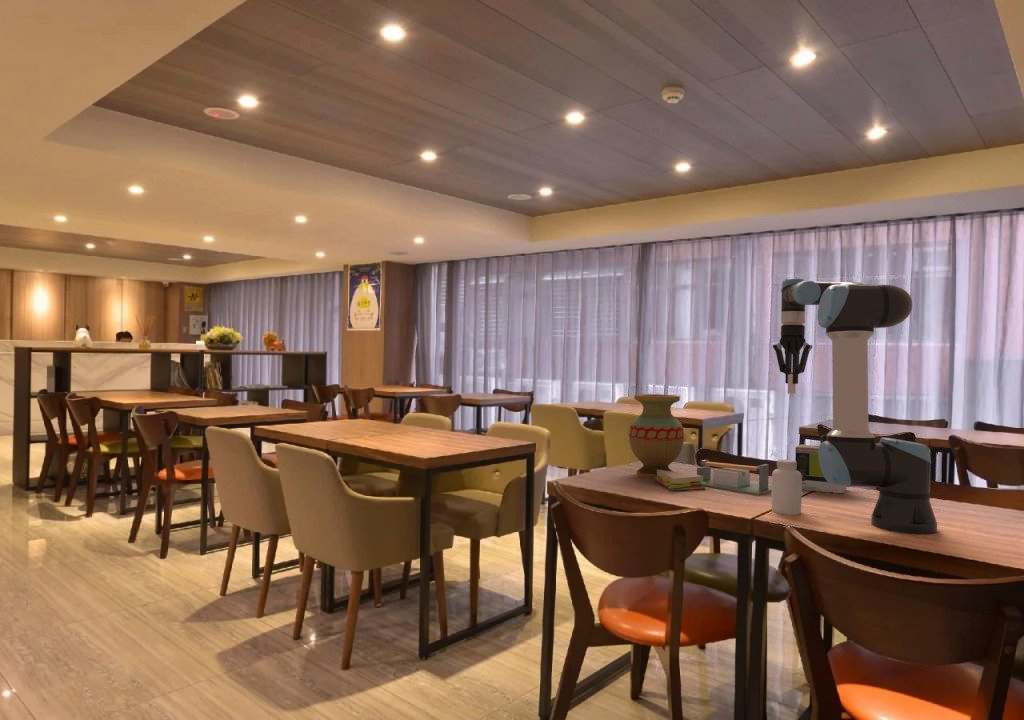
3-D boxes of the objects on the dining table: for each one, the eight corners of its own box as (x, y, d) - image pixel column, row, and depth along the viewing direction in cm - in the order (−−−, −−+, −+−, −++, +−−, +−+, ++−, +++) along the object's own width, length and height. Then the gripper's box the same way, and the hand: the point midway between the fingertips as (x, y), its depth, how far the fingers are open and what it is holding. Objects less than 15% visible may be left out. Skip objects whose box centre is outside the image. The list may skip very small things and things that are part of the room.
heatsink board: (681, 484, 238) (681, 457, 238) (705, 479, 249) (705, 453, 249) (757, 497, 218) (758, 468, 218) (780, 490, 229) (780, 463, 229)
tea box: (846, 490, 233) (847, 446, 232) (843, 495, 224) (844, 449, 224) (799, 485, 241) (800, 443, 241) (794, 489, 232) (795, 446, 232)
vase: (621, 472, 260) (623, 393, 260) (672, 472, 263) (673, 394, 262) (637, 482, 241) (638, 396, 241) (691, 481, 243) (693, 397, 243)
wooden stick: (698, 466, 240) (698, 460, 240) (703, 465, 243) (703, 459, 243) (755, 472, 225) (755, 466, 225) (760, 471, 228) (760, 465, 228)
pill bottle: (766, 512, 196) (767, 460, 196) (777, 508, 202) (778, 457, 202) (794, 517, 190) (796, 463, 190) (805, 513, 196) (806, 460, 196)
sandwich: (683, 482, 244) (683, 468, 244) (712, 493, 225) (712, 478, 225) (643, 483, 240) (644, 469, 240) (669, 494, 221) (669, 479, 221)
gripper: (816, 324, 232) (815, 394, 232) (779, 325, 241) (777, 392, 241) (807, 323, 226) (805, 394, 226) (769, 324, 236) (768, 392, 236)
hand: (791, 393), depth 234 cm, fingers closed
